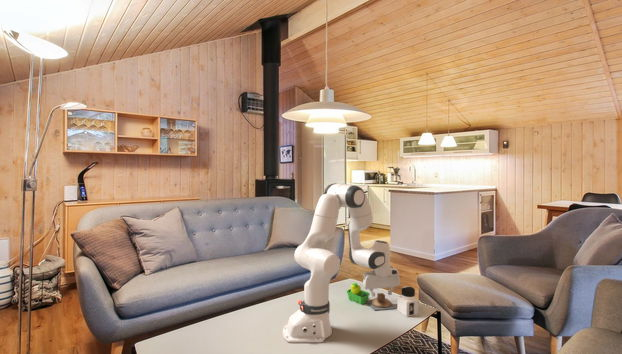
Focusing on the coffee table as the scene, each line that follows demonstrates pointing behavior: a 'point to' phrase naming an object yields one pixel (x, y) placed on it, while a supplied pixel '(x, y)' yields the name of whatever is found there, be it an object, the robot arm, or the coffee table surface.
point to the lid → (381, 301)
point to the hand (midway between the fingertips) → (381, 295)
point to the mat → (380, 308)
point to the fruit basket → (357, 294)
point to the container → (408, 302)
